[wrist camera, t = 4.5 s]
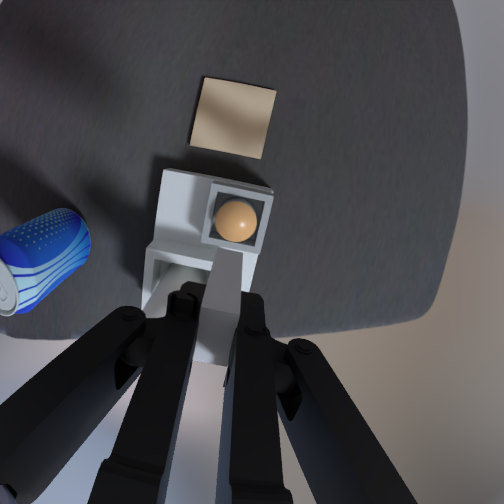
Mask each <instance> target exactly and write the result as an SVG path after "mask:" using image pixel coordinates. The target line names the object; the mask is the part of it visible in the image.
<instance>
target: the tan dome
mask: <svg viewBox="0 0 504 504" xmlns="http://www.w3.org/2000/svg"><path fill="white" fill-rule="evenodd" d="M256 224H257V219H256V211H255V208H254V206H253V204H252V203H251V202H250V201H249V200H247V199H246V198H243V197H231V198H229V199H227V200H225V201H224V202H223V203H222V205H221V206H220V208H219V210H218V212H217V215H216V218H215V225H216V229H217V231H218V233H219V234H220V235H221V236H222V237H223V238H224V239H226V240H228V241H232V242H240V241H244V240H246V239H248V238H249V237H250V236H251V235H252V234H253V233H254V231H255V229H256Z"/></svg>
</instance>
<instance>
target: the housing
mask: <svg viewBox="0 0 504 504" xmlns="http://www.w3.org/2000/svg"><path fill="white" fill-rule="evenodd" d="M231 197H243V198H246V199H247V200H249V201H250V202H251V203H252V204H253V206H254V208H255V211H256V219H257V224H256V229H255V231H254V233H253V234H252V235H251V236H250V237H249V238H248V239H246V240H244V241H240V242H232V241H228V240H226V239H224V238H223V237H222V236H221V235H220V234H219V233H218V231H217V229H216V225H215V218H216V215H217V212H218V210H219V208H220V206H221V205H222V203H223V202H224V201H225V200H227V199H229V198H231ZM273 198H274V195H273V190H272V188H268V187H263V186H259V185H254V184H249V183H245V182H240V181H235V180H230V179H226V178H221V177H216V176H210V175H205V174H200V173H195V172H189V171H184V170H178V169H172V168H168V169H164V170H163V175H162V181H161V187H160V194H159V201H158V207H157V215H156V222H155V230H154V238H153V241H152V242H151V243H150V244H149V245H148V247H147V248H146V256H145V267H144V279H143V293H142V310H143V308H144V307H145V305H146V303H147V302H148V300H149V298H150V297H151V295H152V293H153V292H154V290H155V288H156V287H157V285H158V283H159V282H160V280H161V279H162V277H163V275H164V274H165V272H166V271H167V269H168V267H169V266H170V265H171V264H172V263H176V264H181V265H185V266H190V267H195V268H200V269H204V270H205V272H206V275H207V282H208V278H209V275H210V271H211V268H212V264H213V261H214V257H215V254H216V250H217V247H218V248H223V249H227V250H232V251H237V252H242V253H243V265H242V284H241V291H245V292H249V290H250V286H251V282H252V277H253V273H254V269H255V265H256V261H257V257H258V254H260V251H261V247H262V243H263V239H264V235H265V231H266V227H267V223H268V219H269V215H270V210H271V206H272V202H273Z"/></svg>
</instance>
